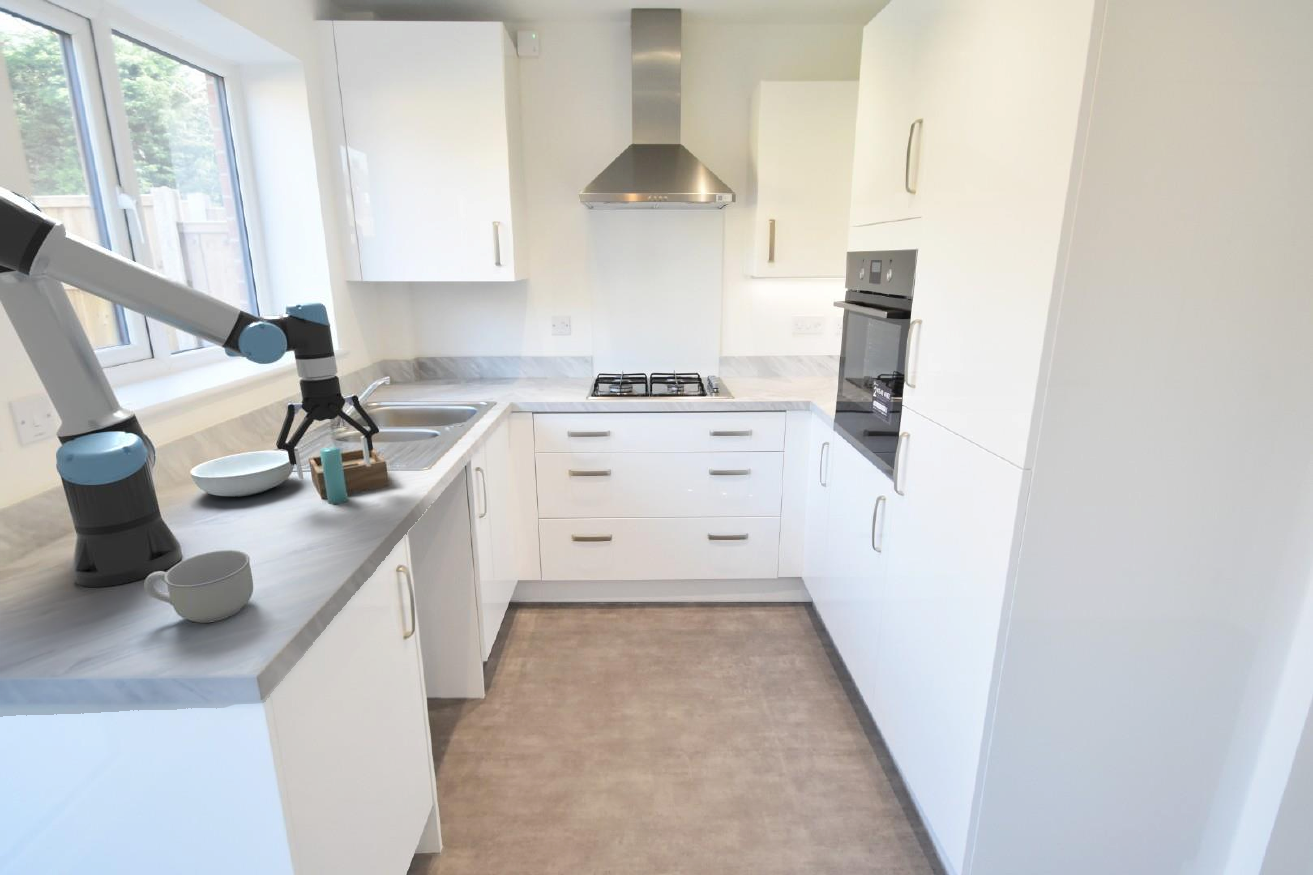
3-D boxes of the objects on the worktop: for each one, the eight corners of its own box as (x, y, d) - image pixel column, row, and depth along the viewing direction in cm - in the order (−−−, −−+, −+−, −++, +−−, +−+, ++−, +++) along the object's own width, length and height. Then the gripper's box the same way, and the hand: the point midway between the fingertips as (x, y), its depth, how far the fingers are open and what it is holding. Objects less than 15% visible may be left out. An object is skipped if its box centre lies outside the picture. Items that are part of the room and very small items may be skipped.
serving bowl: (294, 470, 169) (290, 445, 167) (302, 494, 152) (297, 465, 150) (197, 486, 158) (191, 459, 156) (194, 513, 141) (187, 483, 139)
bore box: (389, 485, 156) (386, 461, 155) (321, 498, 148) (317, 473, 147) (375, 470, 168) (372, 447, 166) (312, 481, 160) (308, 458, 158)
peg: (349, 501, 146) (341, 449, 143) (329, 505, 144) (321, 453, 141) (346, 496, 150) (338, 445, 146) (326, 500, 147) (318, 448, 144)
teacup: (271, 593, 106) (263, 548, 104) (232, 630, 96) (221, 581, 93) (184, 596, 106) (173, 551, 103) (134, 634, 95) (121, 584, 93)
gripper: (376, 367, 149) (390, 456, 155) (249, 382, 136) (269, 478, 142) (384, 371, 143) (397, 464, 149) (252, 387, 130) (272, 488, 136)
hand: (335, 471), depth 145 cm, fingers open, 13 cm apart
